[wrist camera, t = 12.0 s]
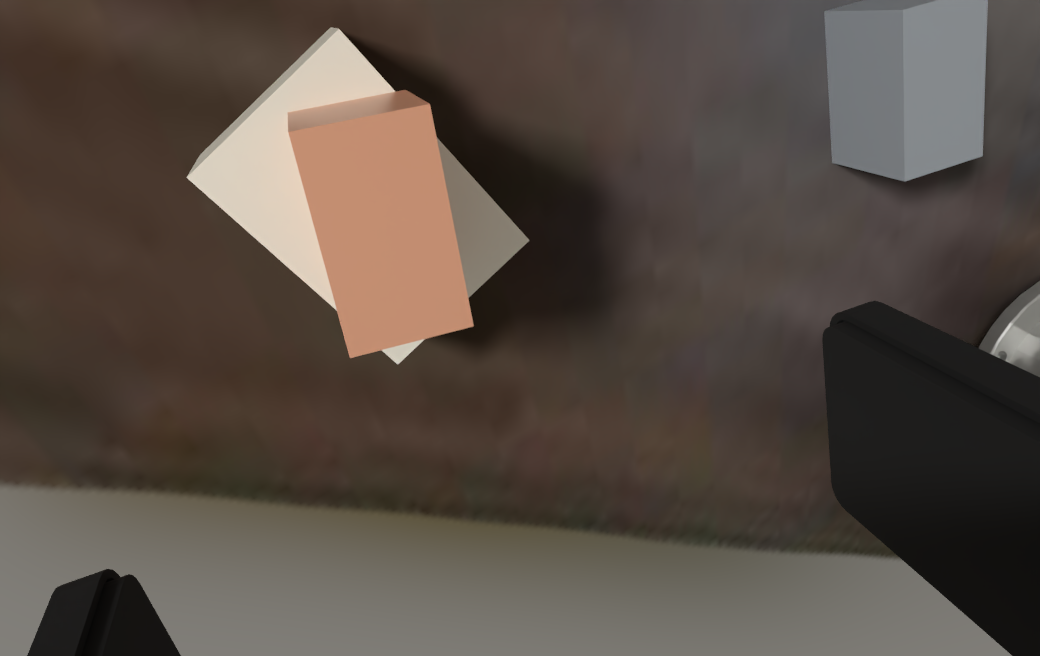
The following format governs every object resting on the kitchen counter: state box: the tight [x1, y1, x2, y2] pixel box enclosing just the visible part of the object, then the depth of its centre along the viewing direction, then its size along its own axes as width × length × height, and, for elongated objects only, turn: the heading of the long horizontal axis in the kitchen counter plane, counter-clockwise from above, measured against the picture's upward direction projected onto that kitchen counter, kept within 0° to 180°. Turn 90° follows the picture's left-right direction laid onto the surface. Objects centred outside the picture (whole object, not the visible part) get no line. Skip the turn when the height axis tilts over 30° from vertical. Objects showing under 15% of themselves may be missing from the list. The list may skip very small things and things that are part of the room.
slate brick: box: [824, 0, 988, 182], centre depth 34 cm, size 7×4×5 cm, turn 13°
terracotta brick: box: [288, 90, 474, 358], centre depth 25 cm, size 7×4×5 cm, turn 10°
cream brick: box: [187, 27, 530, 364], centre depth 30 cm, size 10×7×5 cm
